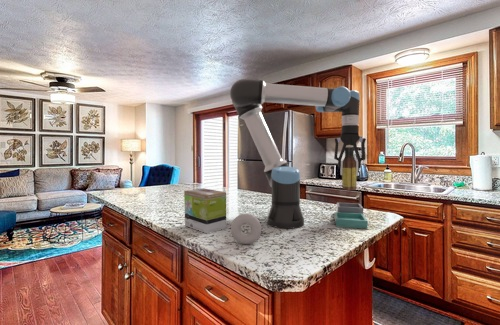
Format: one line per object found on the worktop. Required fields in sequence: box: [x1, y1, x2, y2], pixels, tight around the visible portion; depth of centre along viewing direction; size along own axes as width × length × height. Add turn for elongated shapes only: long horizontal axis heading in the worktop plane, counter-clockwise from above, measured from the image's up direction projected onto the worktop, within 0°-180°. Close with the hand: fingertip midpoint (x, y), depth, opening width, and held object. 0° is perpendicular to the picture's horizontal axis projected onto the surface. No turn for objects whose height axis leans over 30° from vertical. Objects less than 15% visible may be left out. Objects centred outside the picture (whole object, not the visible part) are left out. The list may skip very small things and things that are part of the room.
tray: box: [334, 211, 369, 230], centre depth 110 cm, size 12×13×3 cm
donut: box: [230, 213, 263, 245], centre depth 85 cm, size 10×4×10 cm, turn 85°
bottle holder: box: [336, 202, 364, 215], centre depth 123 cm, size 11×11×5 cm
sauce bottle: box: [341, 146, 357, 191], centre depth 122 cm, size 7×6×20 cm
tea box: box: [183, 187, 227, 234], centre depth 104 cm, size 15×10×15 cm, turn 47°
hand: (348, 175), depth 122 cm, fingers closed on sauce bottle, 6 cm apart
